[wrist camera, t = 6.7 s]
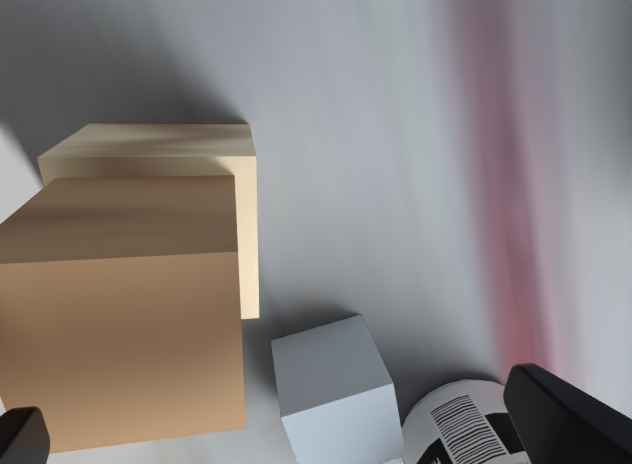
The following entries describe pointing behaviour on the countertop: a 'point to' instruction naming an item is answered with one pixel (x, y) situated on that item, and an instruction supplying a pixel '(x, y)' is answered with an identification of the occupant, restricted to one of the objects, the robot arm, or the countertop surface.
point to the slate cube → (337, 395)
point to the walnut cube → (123, 309)
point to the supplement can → (462, 427)
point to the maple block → (171, 171)
